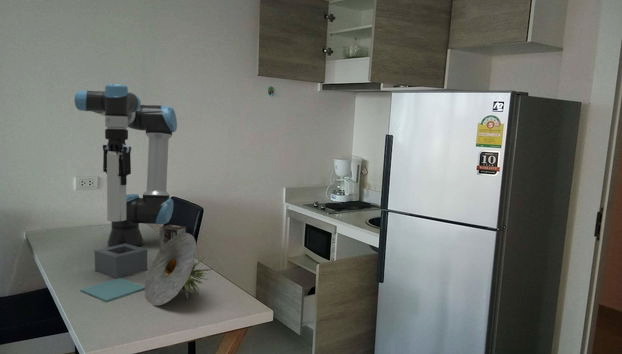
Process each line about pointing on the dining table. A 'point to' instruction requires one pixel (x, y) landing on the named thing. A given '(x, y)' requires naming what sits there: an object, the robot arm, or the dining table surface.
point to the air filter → (114, 190)
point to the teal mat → (112, 289)
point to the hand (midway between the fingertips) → (116, 193)
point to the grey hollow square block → (120, 260)
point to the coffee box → (170, 233)
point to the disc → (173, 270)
